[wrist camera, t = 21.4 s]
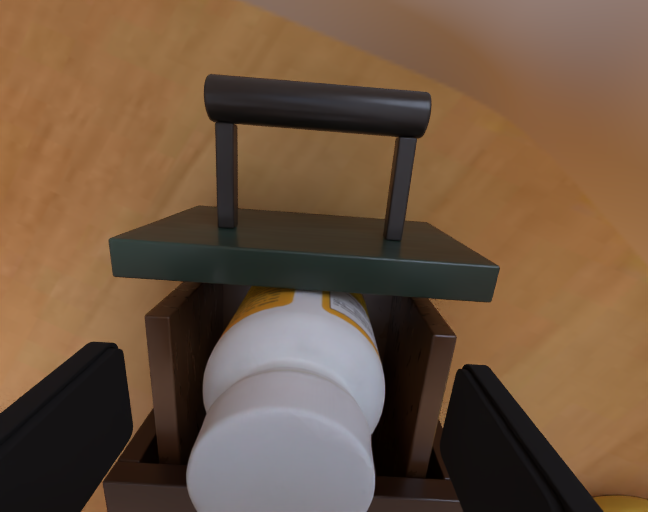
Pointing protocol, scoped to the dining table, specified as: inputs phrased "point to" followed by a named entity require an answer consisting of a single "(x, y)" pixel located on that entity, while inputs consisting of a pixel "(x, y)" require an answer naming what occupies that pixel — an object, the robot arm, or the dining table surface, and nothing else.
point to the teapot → (622, 503)
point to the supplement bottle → (290, 407)
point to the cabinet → (177, 508)
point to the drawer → (306, 266)
